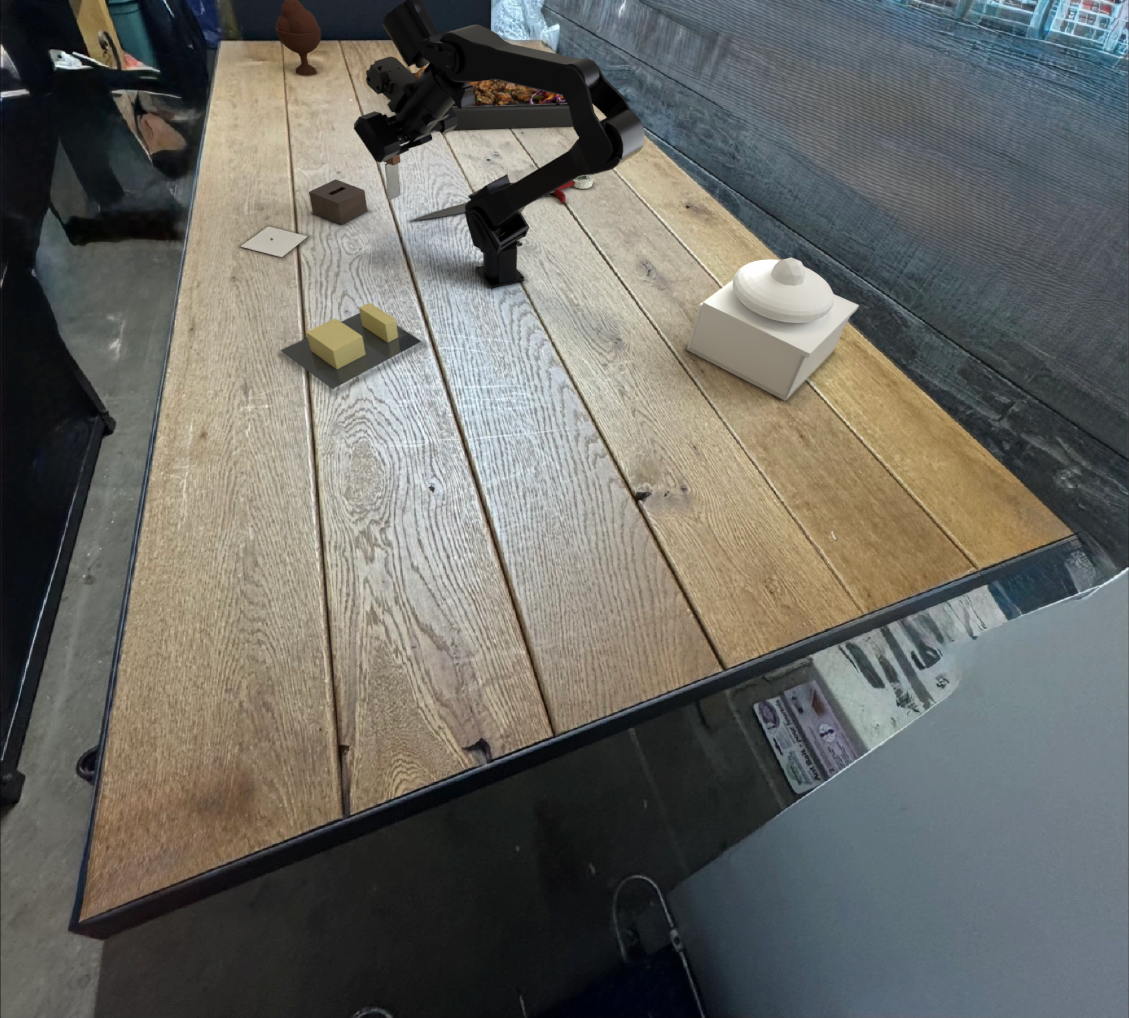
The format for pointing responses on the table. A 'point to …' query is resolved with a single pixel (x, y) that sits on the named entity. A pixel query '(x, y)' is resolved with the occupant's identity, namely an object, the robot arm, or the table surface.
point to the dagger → (578, 183)
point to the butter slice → (378, 322)
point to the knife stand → (338, 201)
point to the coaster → (274, 241)
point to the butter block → (336, 343)
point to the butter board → (374, 356)
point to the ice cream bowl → (298, 33)
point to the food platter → (510, 107)
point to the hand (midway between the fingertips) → (385, 152)
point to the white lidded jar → (771, 325)
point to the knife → (392, 177)
